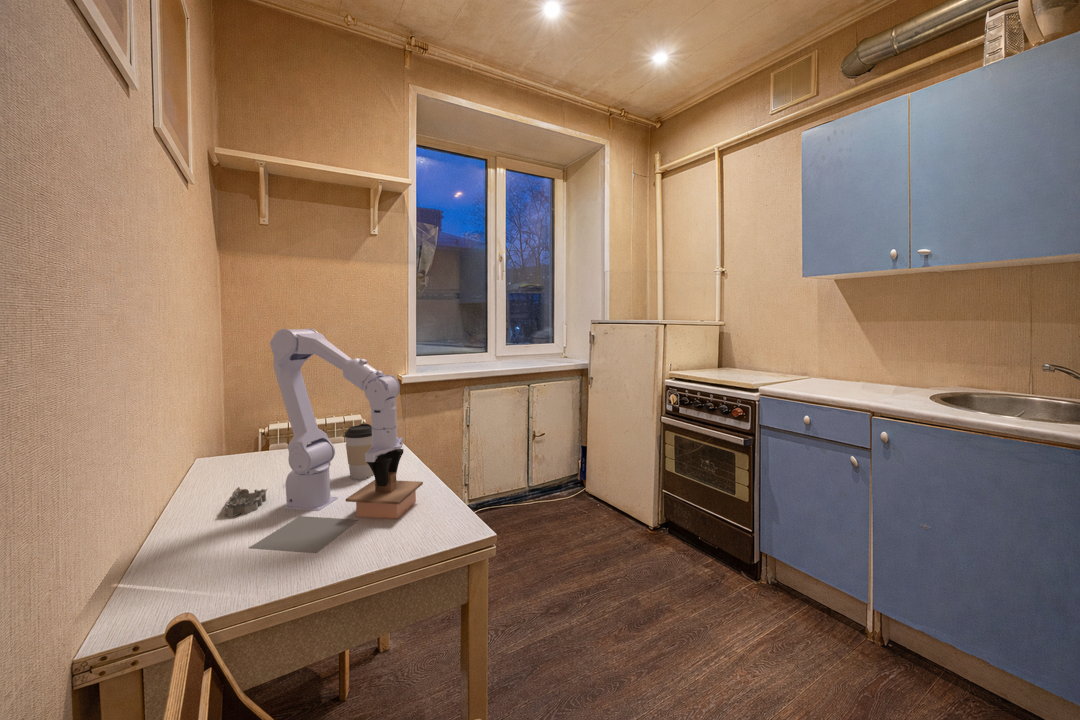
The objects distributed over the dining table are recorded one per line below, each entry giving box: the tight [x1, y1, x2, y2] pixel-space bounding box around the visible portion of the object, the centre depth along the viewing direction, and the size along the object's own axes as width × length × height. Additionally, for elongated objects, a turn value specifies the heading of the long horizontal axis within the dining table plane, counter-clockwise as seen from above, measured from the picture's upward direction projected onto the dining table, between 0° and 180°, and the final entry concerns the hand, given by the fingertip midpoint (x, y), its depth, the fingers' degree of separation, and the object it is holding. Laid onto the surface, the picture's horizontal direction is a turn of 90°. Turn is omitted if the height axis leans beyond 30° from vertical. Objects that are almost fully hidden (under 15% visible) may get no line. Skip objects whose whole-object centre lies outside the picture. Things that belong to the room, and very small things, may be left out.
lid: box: [345, 472, 424, 504], centre depth 107 cm, size 13×13×5 cm
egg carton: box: [222, 486, 268, 517], centre depth 110 cm, size 11×8×4 cm
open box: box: [355, 490, 417, 520], centre depth 107 cm, size 10×10×4 cm
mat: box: [248, 515, 359, 554], centre depth 95 cm, size 15×15×1 cm
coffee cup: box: [344, 423, 374, 480], centre depth 132 cm, size 9×9×15 cm
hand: (386, 482), depth 107 cm, fingers open, 4 cm apart
